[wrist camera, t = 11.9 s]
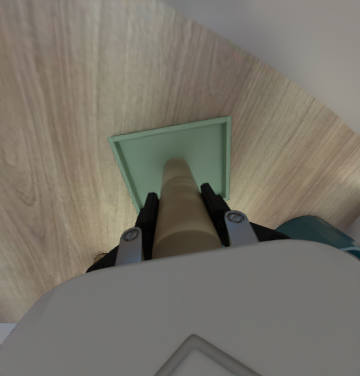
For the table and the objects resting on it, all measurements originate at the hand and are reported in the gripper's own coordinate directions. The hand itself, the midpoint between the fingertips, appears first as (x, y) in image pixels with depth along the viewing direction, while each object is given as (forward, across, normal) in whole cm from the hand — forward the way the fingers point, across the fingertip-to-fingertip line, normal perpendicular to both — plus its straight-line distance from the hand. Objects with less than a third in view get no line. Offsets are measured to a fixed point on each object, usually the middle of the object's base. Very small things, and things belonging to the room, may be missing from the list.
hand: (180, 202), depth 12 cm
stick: (+9, 0, 0) cm, 9 cm away
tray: (+9, 0, 0) cm, 9 cm away
